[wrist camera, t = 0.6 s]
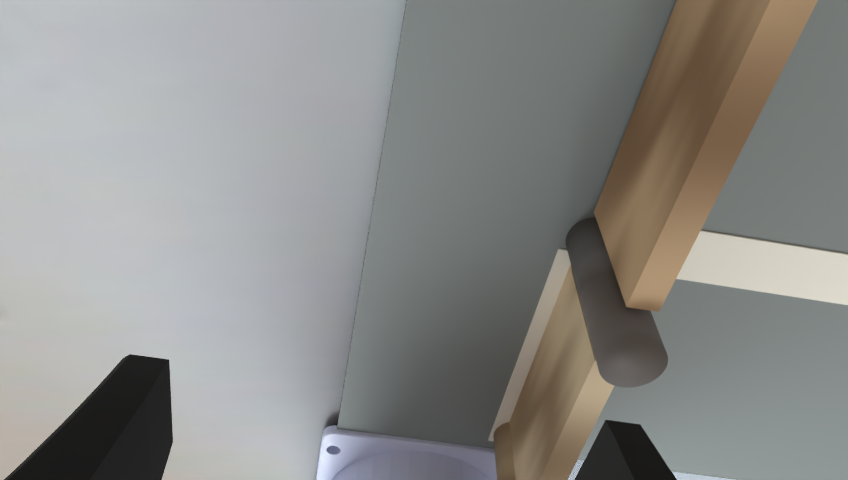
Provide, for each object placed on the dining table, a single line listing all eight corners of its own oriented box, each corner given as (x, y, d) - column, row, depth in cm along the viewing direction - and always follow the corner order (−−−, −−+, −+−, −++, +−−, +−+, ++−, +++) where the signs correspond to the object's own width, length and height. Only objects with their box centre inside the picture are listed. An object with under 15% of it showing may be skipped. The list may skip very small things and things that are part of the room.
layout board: (858, 487, 27) (863, 496, 27) (338, 420, 26) (336, 430, 25) (1411, -112, 15) (1436, -109, 14) (461, -336, 13) (461, -338, 12)
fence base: (530, 450, 26) (548, 581, 22) (488, 444, 26) (498, 575, 22) (628, 221, 20) (679, 344, 16) (575, 212, 20) (611, 334, 15)
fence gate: (634, 217, 19) (681, 329, 16) (579, 207, 19) (614, 319, 15) (807, -184, 14) (947, -158, 10) (732, -201, 14) (845, -182, 10)
